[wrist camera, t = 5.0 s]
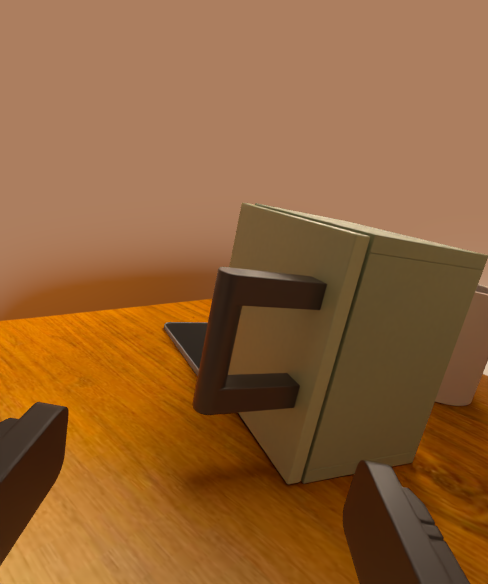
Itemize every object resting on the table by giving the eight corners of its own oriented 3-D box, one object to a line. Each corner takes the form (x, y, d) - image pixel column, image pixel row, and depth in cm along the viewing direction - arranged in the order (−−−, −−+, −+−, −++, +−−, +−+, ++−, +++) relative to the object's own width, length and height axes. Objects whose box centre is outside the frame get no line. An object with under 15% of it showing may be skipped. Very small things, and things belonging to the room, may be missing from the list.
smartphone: (219, 322, 49) (283, 381, 36) (217, 329, 49) (281, 390, 36) (161, 322, 45) (210, 387, 32) (160, 329, 45) (209, 397, 33)
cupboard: (303, 484, 24) (375, 234, 20) (220, 371, 37) (255, 203, 33) (412, 463, 29) (488, 255, 25) (305, 369, 41) (345, 221, 37)
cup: (390, 387, 41) (426, 280, 38) (384, 357, 50) (413, 268, 47) (482, 415, 39) (527, 304, 36) (459, 379, 48) (494, 287, 45)
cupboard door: (189, 503, 21) (248, 214, 17) (140, 372, 33) (168, 188, 29) (300, 482, 24) (371, 236, 20) (218, 370, 37) (252, 204, 33)
